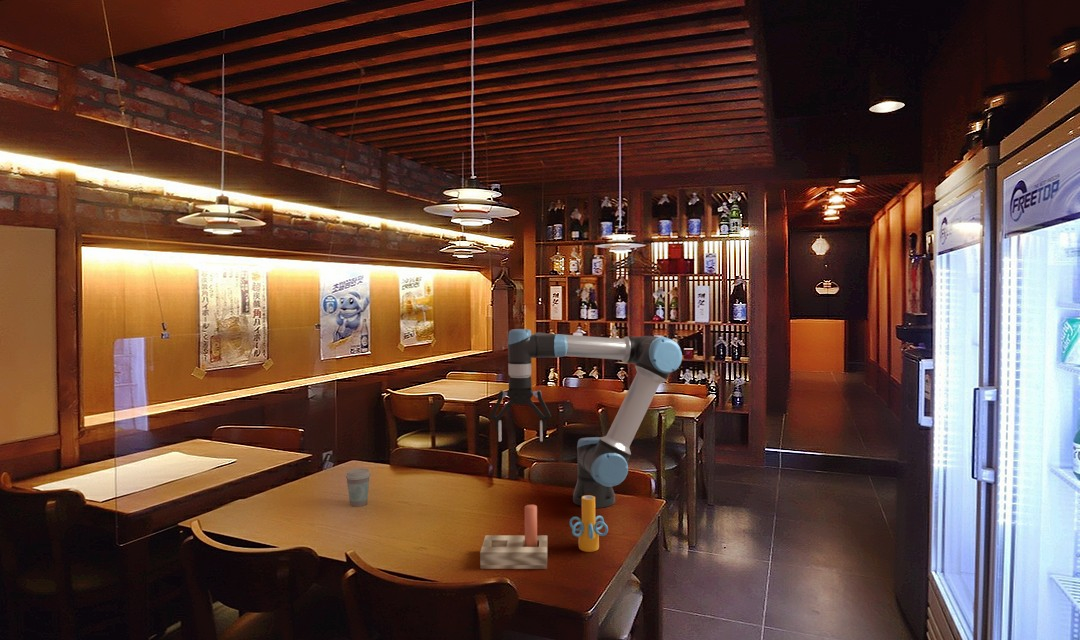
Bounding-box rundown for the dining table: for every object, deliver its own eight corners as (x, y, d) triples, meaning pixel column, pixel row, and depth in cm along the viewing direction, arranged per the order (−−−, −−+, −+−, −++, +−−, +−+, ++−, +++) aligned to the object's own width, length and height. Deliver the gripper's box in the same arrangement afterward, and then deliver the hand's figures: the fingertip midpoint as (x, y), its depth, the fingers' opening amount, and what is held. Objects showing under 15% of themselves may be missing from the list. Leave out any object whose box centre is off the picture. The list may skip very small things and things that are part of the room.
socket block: (547, 550, 177) (547, 535, 176) (546, 568, 165) (546, 552, 164) (485, 550, 177) (485, 535, 177) (480, 568, 165) (480, 552, 165)
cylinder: (568, 540, 184) (567, 491, 183) (602, 539, 185) (601, 490, 184) (573, 557, 172) (573, 505, 171) (610, 556, 173) (609, 503, 172)
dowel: (537, 553, 172) (537, 504, 172) (537, 558, 169) (536, 508, 168) (525, 553, 172) (524, 504, 172) (524, 558, 169) (524, 508, 168)
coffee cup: (341, 506, 217) (340, 473, 217) (356, 499, 225) (356, 467, 225) (360, 509, 214) (360, 475, 214) (375, 501, 222) (375, 469, 222)
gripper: (558, 374, 203) (558, 437, 203) (483, 375, 204) (484, 438, 204) (558, 377, 195) (558, 443, 196) (480, 377, 196) (481, 443, 197)
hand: (520, 440), depth 200 cm, fingers open, 13 cm apart
